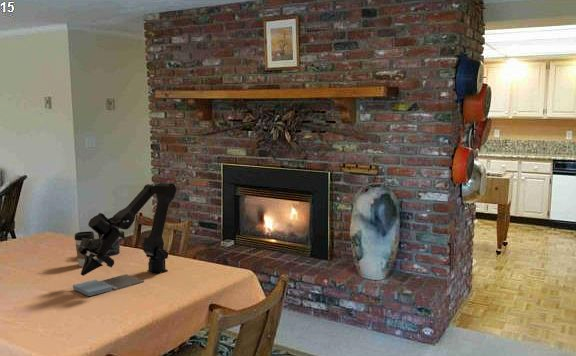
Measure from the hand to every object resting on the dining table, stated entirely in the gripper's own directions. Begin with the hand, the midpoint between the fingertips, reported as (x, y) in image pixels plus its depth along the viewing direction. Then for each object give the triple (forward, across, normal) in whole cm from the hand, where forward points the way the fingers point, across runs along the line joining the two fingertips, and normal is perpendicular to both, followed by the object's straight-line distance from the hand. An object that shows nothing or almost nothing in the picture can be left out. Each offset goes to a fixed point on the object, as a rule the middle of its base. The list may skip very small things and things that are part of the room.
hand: (81, 275), depth 194 cm
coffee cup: (-8, -33, +19) cm, 39 cm away
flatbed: (-6, 0, +17) cm, 18 cm away
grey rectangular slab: (-2, 0, +11) cm, 11 cm away
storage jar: (-20, -42, +31) cm, 56 cm away
